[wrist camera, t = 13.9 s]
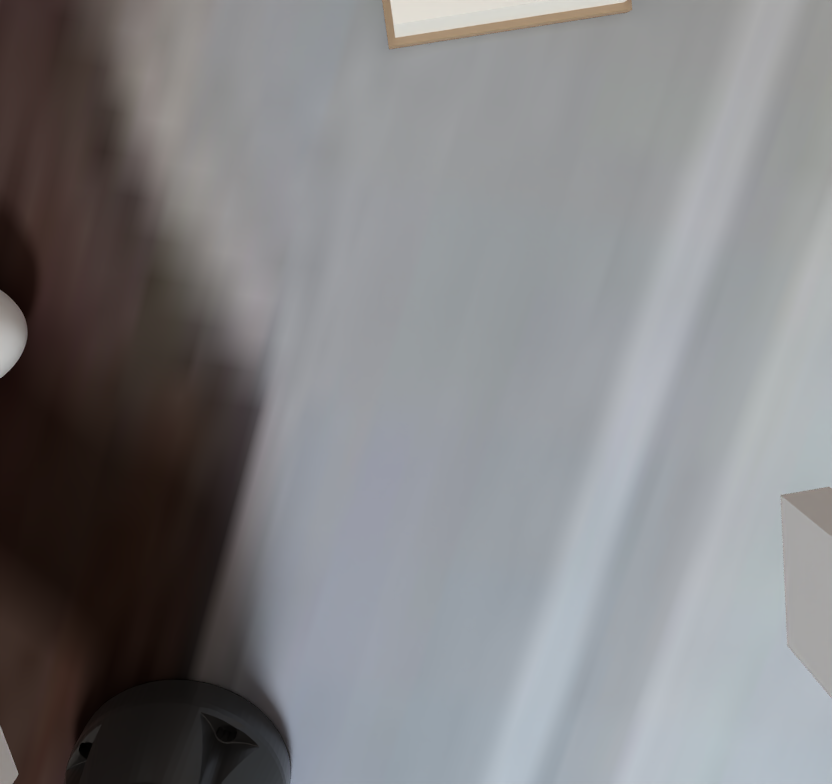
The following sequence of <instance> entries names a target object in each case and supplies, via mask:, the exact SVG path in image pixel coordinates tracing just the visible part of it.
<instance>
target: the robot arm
mask: <svg viewBox="0 0 832 784" xmlns="http://www.w3.org/2000/svg"><path fill="white" fill-rule="evenodd" d="M781 514H782V537H783V559H784V582H785V605H786V627H787V646H788V647H789V648H790V649H791V651H792V652H793V653H794V654H795V655H796V657H797V658H798V659H799V660H800V661H801V663H802V664H803V665H804V666H805V667H806V668H807V670H808V671H809V672H810V673H811V674H812V676H813V677H814V678H815V679H816V680H817V681H818V683H819V684H820V685H821V686H822V687H823V689H824V690H825V691H826V692H827V693H828V694H829V696H830V697H831V698H832V489H831V488H830V487H825V488H819V489H814V490H808V491H802V492H796V493H790V494H784V495H781ZM17 776H18V771H17V769H16V766H15V763H14V761H13V758H12V756H11V753H10V750H9V748H8V745H7V742H6V740H5V737H4V734H3V732H2V729H1V727H0V784H14V783H13V782H14V781H15V779H16V778H17ZM290 779H291V768H290V760H289V755H288V752H287V749H286V746H285V744H284V742H283V739H282V737H281V736H280V734H279V732H278V731H277V729H276V728H275V726H274V725H273V724H272V723H271V721H270V720H269V719H268V718H267V717H266V716H265V715H264V714H263V713H262V712H261V711H260V710H259V709H257V708H256V707H255V706H254V705H252V704H251V703H249V702H248V701H247V700H245V699H243V698H242V697H240V696H238V695H236V694H234V693H232V692H230V691H228V690H225V689H223V688H220V687H217V686H214V685H210V684H206V683H202V682H196V681H188V680H163V681H155V682H150V683H145V684H141V685H138V686H135V687H132V688H130V689H127V690H125V691H123V692H121V693H119V694H118V695H116V696H114V697H113V698H111V699H110V700H108V701H107V702H106V703H105V704H103V705H102V706H101V707H100V708H99V709H98V710H97V711H96V712H95V713H94V714H93V716H92V717H91V718H90V720H89V721H88V723H87V725H86V726H85V728H84V730H83V732H82V733H81V735H80V737H79V739H78V740H77V742H76V744H75V746H74V748H73V750H72V752H71V755H70V758H69V761H68V764H67V768H66V773H65V780H64V784H290Z"/></svg>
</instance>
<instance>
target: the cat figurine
mask: <svg viewBox="0 0 832 784" xmlns="http://www.w3.org/2000/svg"><path fill="white" fill-rule="evenodd" d="M26 341H27V324H26V320H25V317H24V315H23V313H22V311H21V310H20V308H19V307H18V305H17V304H16V303H15V302H14V301H13V300H12V299H11V298H10V297H9V296H8V295H7V294H5V293H4V292H3V291H1V290H0V378H1V377H3V376H4V375H5V374H6V373H7V372H8V371H9V370H10V369H11V368H12V367H13V366H14V365H15V364H16V362H17V361H18V359H19V358H20V356H21V354H22V353H23V350H24V348H25V345H26Z"/></svg>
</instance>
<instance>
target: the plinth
mask: <svg viewBox="0 0 832 784" xmlns="http://www.w3.org/2000/svg"><path fill="white" fill-rule="evenodd" d="M382 2H383V9H384V16H385V23H386V30H387V37H388V45H389V49H394V48H401V47H407V46H414V45H420V44H426V43H433V42H439V41H446V40H452V39H459V38H465V37H472V36H478V35H485V34H491V33H497V32H504V31H510V30H517V29H523V28H530V27H536V26H543V25H549V24H555V23H562V22H568V21H575V20H581V19H588V18H594V17H601V16H607V15H614V14H620V13H626V12H629V11H630V10H632V3H631V0H382Z"/></svg>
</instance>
